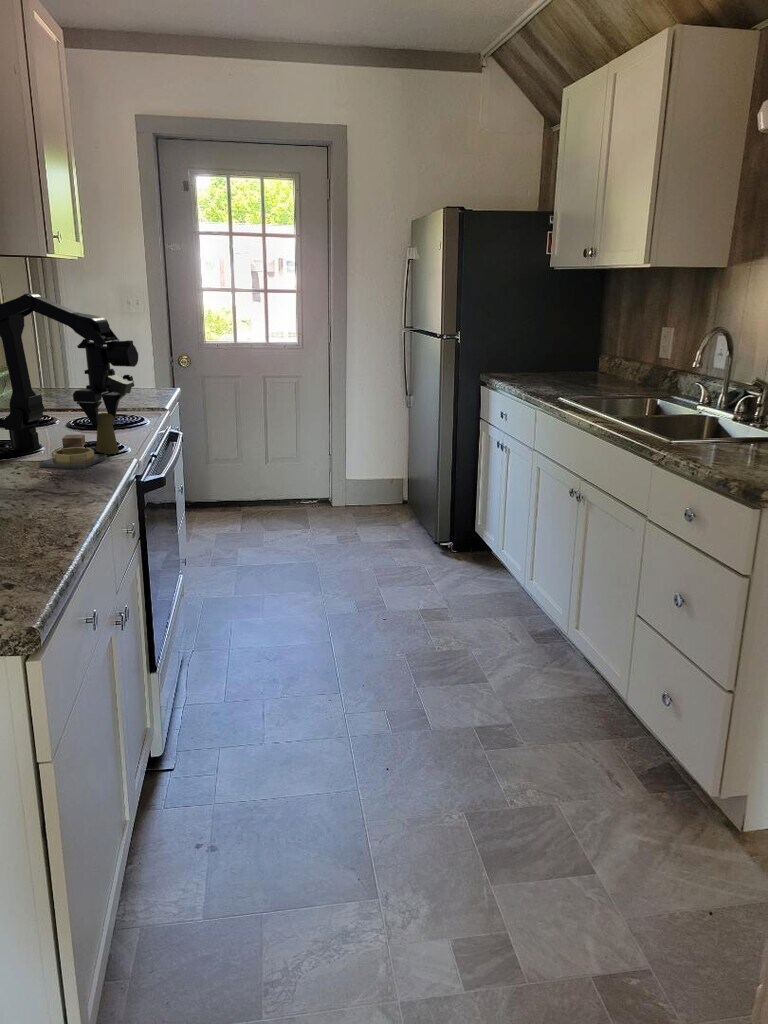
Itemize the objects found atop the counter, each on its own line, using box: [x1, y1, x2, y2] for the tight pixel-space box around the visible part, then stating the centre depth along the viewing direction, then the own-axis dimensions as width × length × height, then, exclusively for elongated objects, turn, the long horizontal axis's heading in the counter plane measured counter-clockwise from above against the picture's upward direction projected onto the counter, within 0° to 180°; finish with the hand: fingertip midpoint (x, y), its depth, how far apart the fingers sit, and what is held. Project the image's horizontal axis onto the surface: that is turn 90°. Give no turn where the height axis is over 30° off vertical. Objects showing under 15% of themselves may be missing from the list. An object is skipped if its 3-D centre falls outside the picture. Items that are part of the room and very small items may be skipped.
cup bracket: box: [38, 447, 108, 470], centre depth 199 cm, size 12×12×3 cm
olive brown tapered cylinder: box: [95, 412, 120, 454], centre depth 209 cm, size 6×6×11 cm
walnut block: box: [61, 433, 86, 449], centre depth 213 cm, size 5×5×4 cm
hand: (104, 423), depth 208 cm, fingers open, 9 cm apart
